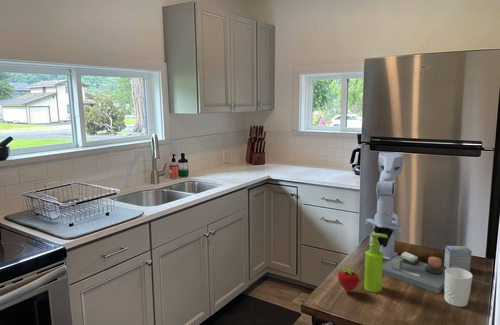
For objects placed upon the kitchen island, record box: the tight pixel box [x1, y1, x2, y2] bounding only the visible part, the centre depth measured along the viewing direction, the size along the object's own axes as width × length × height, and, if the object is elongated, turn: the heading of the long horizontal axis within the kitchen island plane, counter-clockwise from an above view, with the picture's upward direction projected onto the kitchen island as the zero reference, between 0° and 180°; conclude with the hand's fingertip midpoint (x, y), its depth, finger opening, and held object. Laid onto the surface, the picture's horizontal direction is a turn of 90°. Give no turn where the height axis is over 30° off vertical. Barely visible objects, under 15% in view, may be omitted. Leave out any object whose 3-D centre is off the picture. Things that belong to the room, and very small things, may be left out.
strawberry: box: [337, 267, 360, 293], centre depth 130 cm, size 6×8×10 cm
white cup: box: [443, 268, 474, 308], centre depth 123 cm, size 8×8×10 cm
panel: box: [382, 254, 446, 294], centre depth 142 cm, size 22×16×3 cm
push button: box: [427, 256, 442, 268], centre depth 140 cm, size 4×4×2 cm
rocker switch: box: [400, 251, 419, 263], centre depth 148 cm, size 5×4×1 cm
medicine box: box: [443, 245, 472, 272], centre depth 146 cm, size 8×4×9 cm, turn 84°
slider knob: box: [391, 256, 403, 270], centre depth 143 cm, size 3×3×4 cm
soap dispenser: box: [363, 232, 388, 293], centre depth 131 cm, size 6×7×20 cm
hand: (382, 245), depth 146 cm, fingers closed
